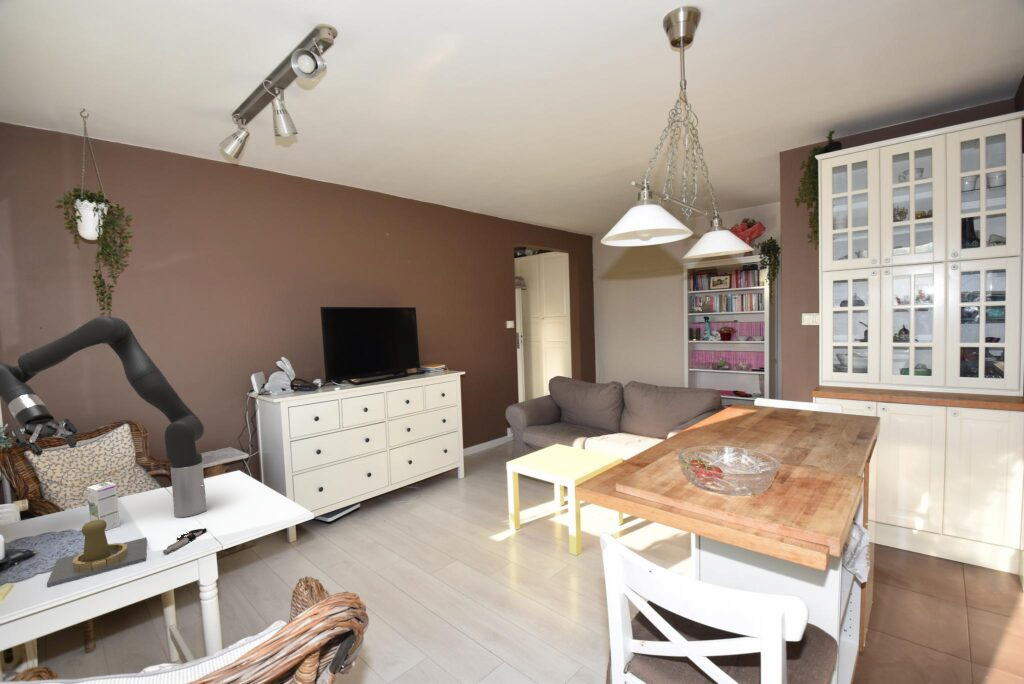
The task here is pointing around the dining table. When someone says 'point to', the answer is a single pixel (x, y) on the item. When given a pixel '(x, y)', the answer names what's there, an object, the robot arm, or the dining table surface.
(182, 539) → the micrometer
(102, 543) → the cork
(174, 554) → the dining table surface
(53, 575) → the collar plate
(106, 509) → the syrup box
